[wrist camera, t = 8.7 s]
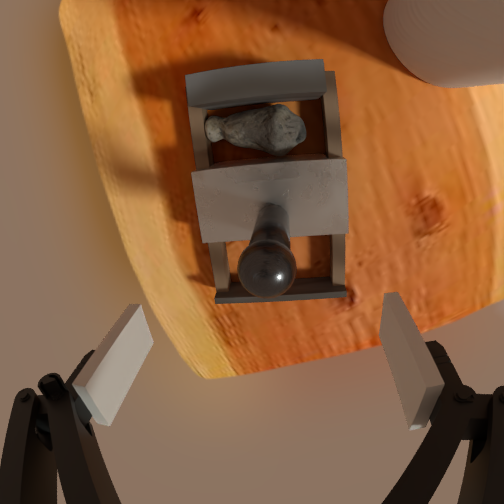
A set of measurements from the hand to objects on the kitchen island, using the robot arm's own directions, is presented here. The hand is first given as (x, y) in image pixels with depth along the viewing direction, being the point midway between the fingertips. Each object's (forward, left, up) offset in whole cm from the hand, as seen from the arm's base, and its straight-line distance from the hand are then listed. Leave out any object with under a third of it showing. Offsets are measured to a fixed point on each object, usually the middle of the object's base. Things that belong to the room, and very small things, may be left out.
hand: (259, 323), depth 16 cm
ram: (-2, 0, -23) cm, 23 cm away
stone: (-9, -1, -23) cm, 25 cm away
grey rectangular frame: (-2, 0, -23) cm, 23 cm away
